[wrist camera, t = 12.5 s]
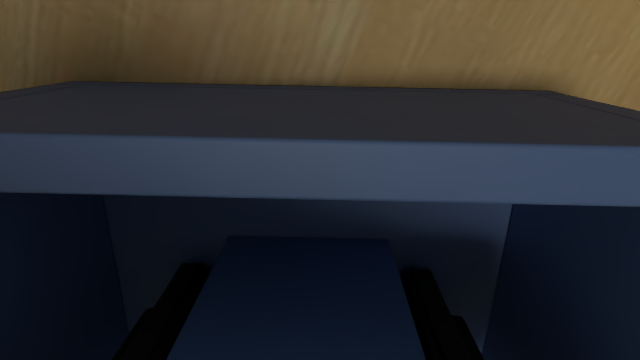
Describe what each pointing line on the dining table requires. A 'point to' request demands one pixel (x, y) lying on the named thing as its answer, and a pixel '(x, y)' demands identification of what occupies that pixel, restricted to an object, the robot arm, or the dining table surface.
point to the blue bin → (320, 203)
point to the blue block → (301, 303)
